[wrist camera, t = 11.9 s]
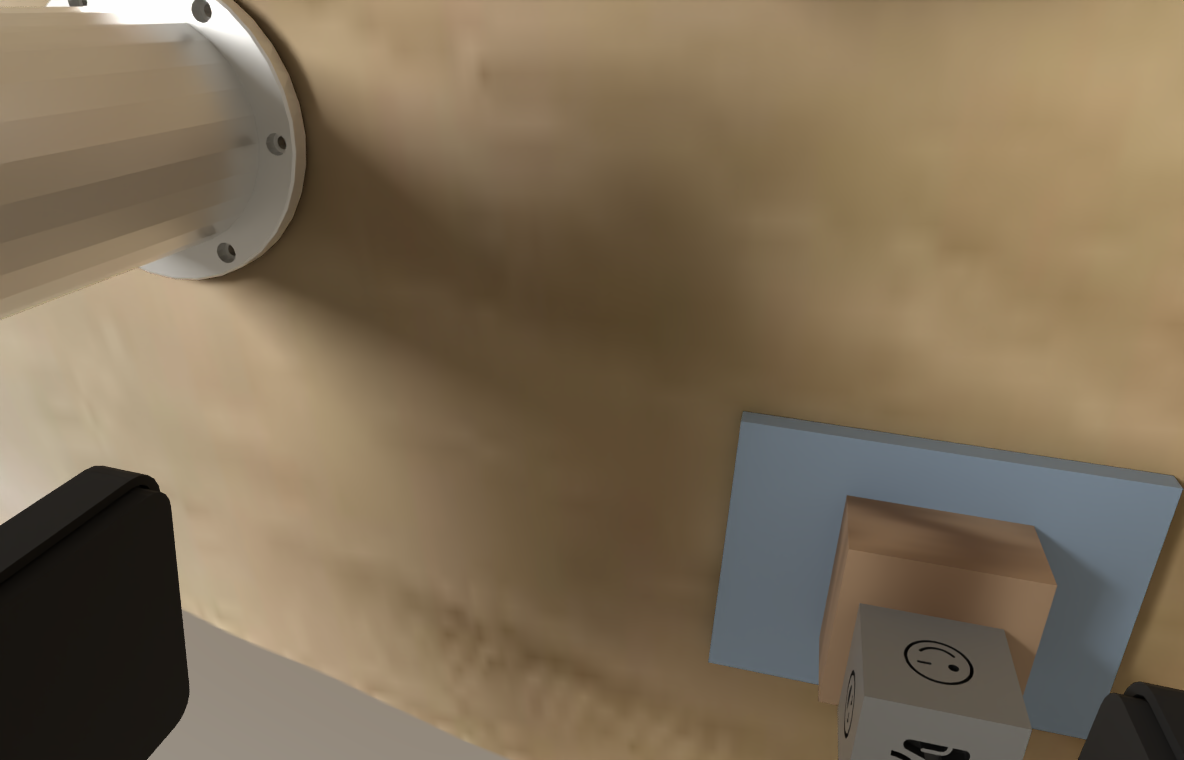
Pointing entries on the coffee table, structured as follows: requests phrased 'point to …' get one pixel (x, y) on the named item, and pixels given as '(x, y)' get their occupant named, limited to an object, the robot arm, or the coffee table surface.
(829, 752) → the coffee table surface
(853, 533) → the light brown plinth
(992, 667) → the grey symbol cube
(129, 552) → the robot arm
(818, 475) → the blue board
